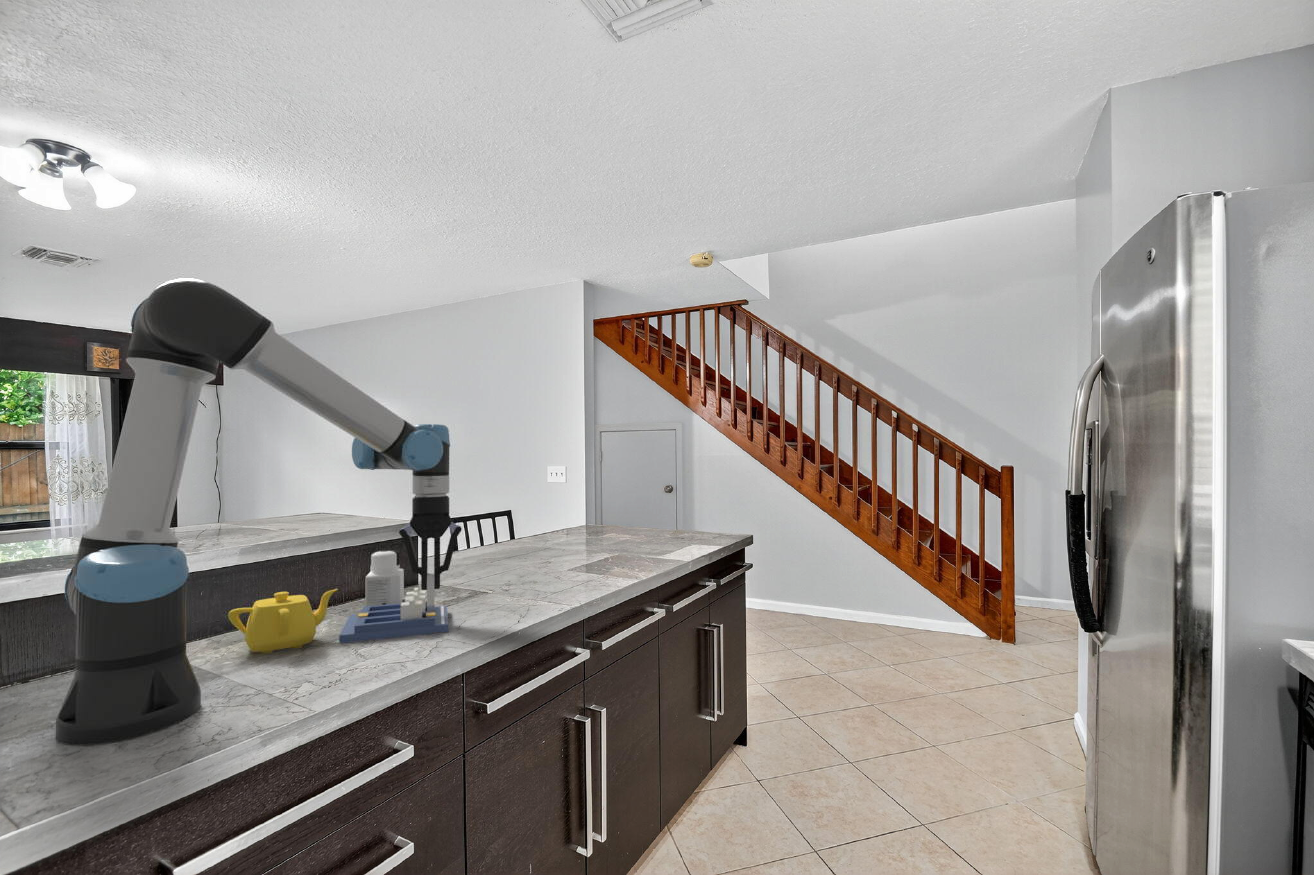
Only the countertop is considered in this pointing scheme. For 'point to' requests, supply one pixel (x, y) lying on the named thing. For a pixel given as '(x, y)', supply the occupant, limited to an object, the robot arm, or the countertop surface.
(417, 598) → the gray studded block
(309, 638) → the teapot
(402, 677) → the countertop surface
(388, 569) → the container
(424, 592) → the grey studded block
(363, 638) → the blue divided tray
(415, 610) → the grey studded block
